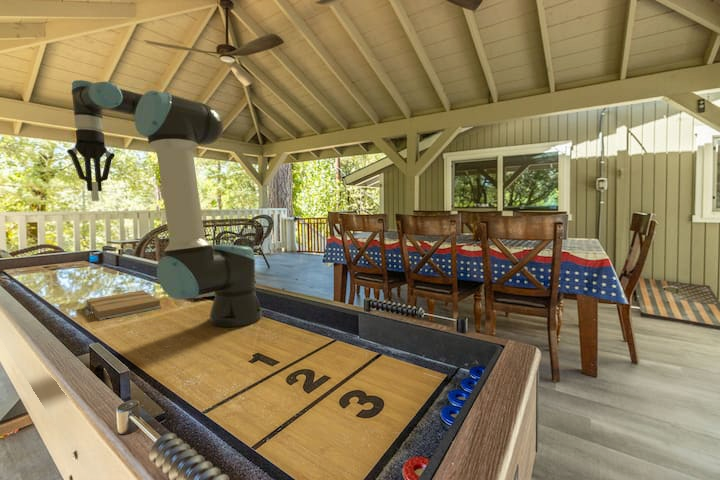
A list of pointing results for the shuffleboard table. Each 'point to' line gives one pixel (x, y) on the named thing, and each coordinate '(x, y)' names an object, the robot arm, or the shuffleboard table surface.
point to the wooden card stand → (126, 307)
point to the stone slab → (203, 296)
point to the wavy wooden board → (116, 298)
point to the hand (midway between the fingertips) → (95, 200)
